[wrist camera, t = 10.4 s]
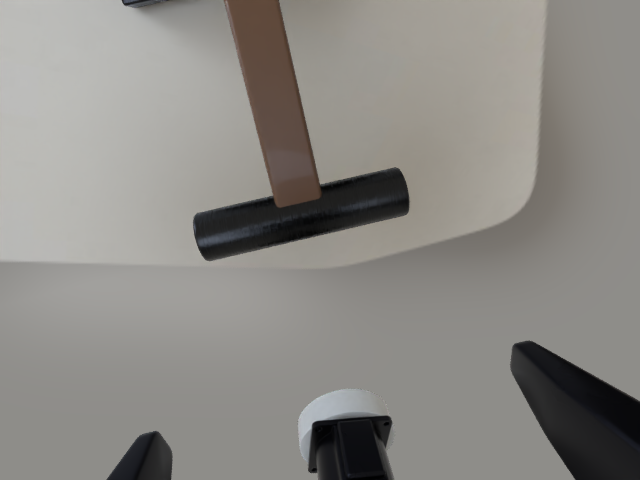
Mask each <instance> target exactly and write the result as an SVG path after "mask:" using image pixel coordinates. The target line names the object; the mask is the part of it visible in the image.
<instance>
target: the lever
mask: <svg viewBox="0 0 640 480" xmlns="http://www.w3.org/2000/svg"><path fill="white" fill-rule="evenodd" d="M224 2H225V6H226V10H227V14H228V18H229V22H230V26H231V30H232V34H233V38H234V42H235V46H236V50H237V54H238V58H239V62H240V66H241V70H242V74H243V78H244V82H245V86H246V90H247V94H248V98H249V101H250V105H251V109H252V113H253V117H254V121H255V125H256V129H257V133H258V137H259V141H260V145H261V149H262V153H263V157H264V161H265V165H266V169H267V173H268V177H269V181H270V185H271V189H272V193H273V196H269V197H265V198H261V199H256V200H252V201H248V202H243V203H239V204H235V205H231V206H226V207H222V208H218V209H213V210H209V211H205V212H200V213H197V214H196V215H195V216H194V220H193V228H194V235H195V239H196V243H197V246H198V248H199V251H200V253H201V254H202V256H203V257H204V259H205V260H207V261H213V260H217V259H221V258H226V257H230V256H234V255H238V254H243V253H247V252H251V251H255V250H260V249H264V248H268V247H272V246H277V245H281V244H285V243H290V242H294V241H298V240H302V239H307V238H311V237H315V236H319V235H324V234H328V233H332V232H336V231H341V230H345V229H349V228H353V227H358V226H362V225H366V224H370V223H375V222H379V221H383V220H387V219H392V218H396V217H400V216H404V215H406V214H407V213H408V211H409V193H408V188H407V184H406V181H405V178H404V176H403V174H402V172H401V171H400V169H399V168H396V167H394V168H390V169H386V170H381V171H377V172H373V173H368V174H364V175H360V176H356V177H351V178H347V179H343V180H338V181H334V182H330V183H325V184H321V185H320V183H319V178H318V174H317V169H316V165H315V160H314V156H313V151H312V147H311V142H310V138H309V133H308V129H307V124H306V120H305V115H304V111H303V107H302V102H301V98H300V93H299V89H298V84H297V80H296V75H295V71H294V66H293V62H292V57H291V53H290V48H289V44H288V39H287V35H286V30H285V26H284V21H283V17H282V12H281V8H280V3H279V0H224Z"/></svg>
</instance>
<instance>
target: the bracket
mask: <svg viewBox="0 0 640 480" xmlns="http://www.w3.org/2000/svg"><path fill="white" fill-rule="evenodd" d="M163 1H168V0H122V2H123V4H124V5H125V6H129V7H133V8H136V7H140V6H145V5H149V4H154V3H159V2H163Z"/></svg>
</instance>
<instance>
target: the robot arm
mask: <svg viewBox="0 0 640 480" xmlns="http://www.w3.org/2000/svg"><path fill="white" fill-rule="evenodd" d="M510 367H511V372H512V374H513V376H514V378H515V380H516V382H517V384H518V385H519V387H520V389H521V391H522V393H523V395H524V396H525V398H526V400H527V402H528V404H529V406H530V408H531V409H532V411H533V413H534V415H535V417H536V419H537V421H538V422H539V424H540V426H541V428H542V430H543V431H544V433H545V435H546V436H547V438H548V440H549V441H550V443H551V444H552V446H553V447H554V449H555V450H556V451H557V453H558V455H559V456H560V457H561V459H562V460H563V462H564V464H565V465H566V467H567V468H568V469H569V471H570V472H571V474H572V475H573V477H574V478H575V480H640V401H638V400H637V399H635V398H633V397H631V396H630V395H628V394H626V393H624V392H622V391H621V390H619V389H617V388H615V387H613V386H612V385H610V384H608V383H606V382H604V381H603V380H601V379H599V378H597V377H595V376H594V375H592V374H590V373H588V372H587V371H585V370H583V369H581V368H579V367H578V366H576V365H574V364H572V363H570V362H569V361H567V360H565V359H563V358H561V357H560V356H558V355H556V354H554V353H552V352H551V351H549V350H547V349H545V348H544V347H542V346H540V345H538V344H536V343H534V342H532V341H524V342H519V343H516V344H514V345H513V347H512V355H511V364H510ZM391 426H392V420H391V417H390V416H387V415H385V416H372V417H359V418H346V419H333V420H320V421H315V422H313V423H312V427H311V437H310V448H309V459H308V471H309V472H310V473H318V480H394V477H393V473H392V470H391V467H390V463H389V460H388V456H387V453H386V445H387V442H388V438H389V434H390V430H391ZM171 473H172V451H171V449H170V447H169V445H168V444H167V443H166V441H165V440H164V439H163V437H162V436H161V434H160V433H159V432H157V431H153V432H149V433H145V434H142V435H140V436H139V437H138V438H137V439H136V440H135V442H134V443H133V444H132V446H131V447H130V449H129V450H128V451H127V453H126V454H125V455H124V457H123V458H122V459H121V461H120V462H119V464H118V465H117V466H116V468H115V469H114V470H113V472H112V473H111V474H110V476H109V477H108V478H107V480H171Z"/></svg>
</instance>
